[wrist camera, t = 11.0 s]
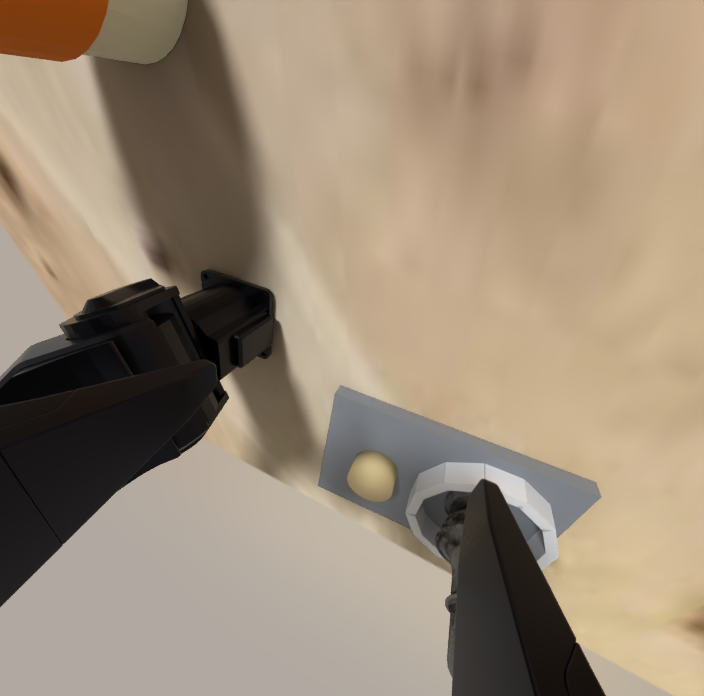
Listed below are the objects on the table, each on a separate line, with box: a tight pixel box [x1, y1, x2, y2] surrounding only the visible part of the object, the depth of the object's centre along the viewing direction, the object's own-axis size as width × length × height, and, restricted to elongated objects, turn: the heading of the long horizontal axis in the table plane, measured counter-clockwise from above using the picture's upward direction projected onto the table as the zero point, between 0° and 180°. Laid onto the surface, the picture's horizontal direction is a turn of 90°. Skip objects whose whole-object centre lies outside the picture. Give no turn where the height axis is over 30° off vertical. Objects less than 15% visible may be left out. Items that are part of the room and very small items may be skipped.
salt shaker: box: [435, 491, 471, 678], centre depth 21 cm, size 6×6×12 cm
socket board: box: [318, 386, 601, 571], centre depth 26 cm, size 20×13×3 cm, turn 79°
